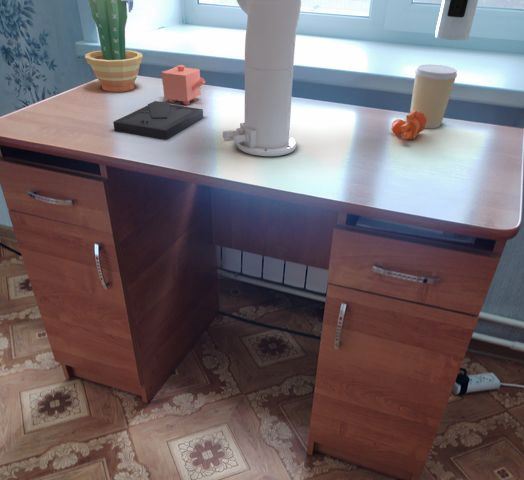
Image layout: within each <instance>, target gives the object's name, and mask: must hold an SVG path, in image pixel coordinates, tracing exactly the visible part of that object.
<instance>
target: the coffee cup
mask: <svg viewBox="0 0 524 480" xmlns="http://www.w3.org/2000/svg"><path fill="white" fill-rule="evenodd" d="M457 76H458V73H457V69H456V68H454V67H451V66H448V65H441V64H421V65H418V66H417V68H416V69H415V77H414V83H413V89H412V96H411V103H410V111H409V113H410V112H412V111H415V110H417V112H421V113H423V114H424V115H425V116H426V118H427V122H426V125H425V129H436V128H439V127H441V125H442V122H443V119H444V116H445V113H446V110H447V107H448V104H449V101H450V98H451V94H452V91H453V88H454V86H455V85H454V84H455V81H456V78H457Z"/></svg>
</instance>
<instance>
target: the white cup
mask: <svg viewBox="0 0 524 480" xmlns="http://www.w3.org/2000/svg"><path fill="white" fill-rule="evenodd" d="M450 1H451V0H441V5H440V11H439V13H438V19H437V24H436V27H435V34H434V37H435V38H437V39H441V40H447V41H467V40H469V37H470V34H471V30H472V26H473V22H474V18H475V14H476V11H477V6H478V4H479V3H478V2H479V0H468V3H467V7H466V11H465V15H464V17H462V18H461V17H449V16H448V15H447V14H448V10H449V5H450Z"/></svg>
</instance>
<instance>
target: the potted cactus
mask: <svg viewBox="0 0 524 480" xmlns="http://www.w3.org/2000/svg"><path fill="white" fill-rule="evenodd" d="M88 2H89V8H90V12H91V17H92V19H93V21H94V23H95V25H96V28H97V33H98V40H99V45H100V50H93V51H90V52H87V53H85V54H84V58H85V61H86V63H87V65H89V66H90V67H91V70H92V72H93V73H94V76H95V77H96V79H97V80H98V81H99V82H100V84H101V85H102V86H101V87H102V88H101V89H102V90H103V91H106V92H113V93H116V92H117V93H118V92H119V93H120V92H128V91H132V90H134V89H135V88H136V87H135V82H136V80H137V77H138V76H139V72H140V65H141V64H142V63H143V53H142V52H139V51H136V50H131V49H129V50H128V49H126V25H127V21H128V13H131V12H132V11H133V8H134V0H88ZM127 4H128V5H127ZM127 6H128V7H127Z"/></svg>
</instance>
